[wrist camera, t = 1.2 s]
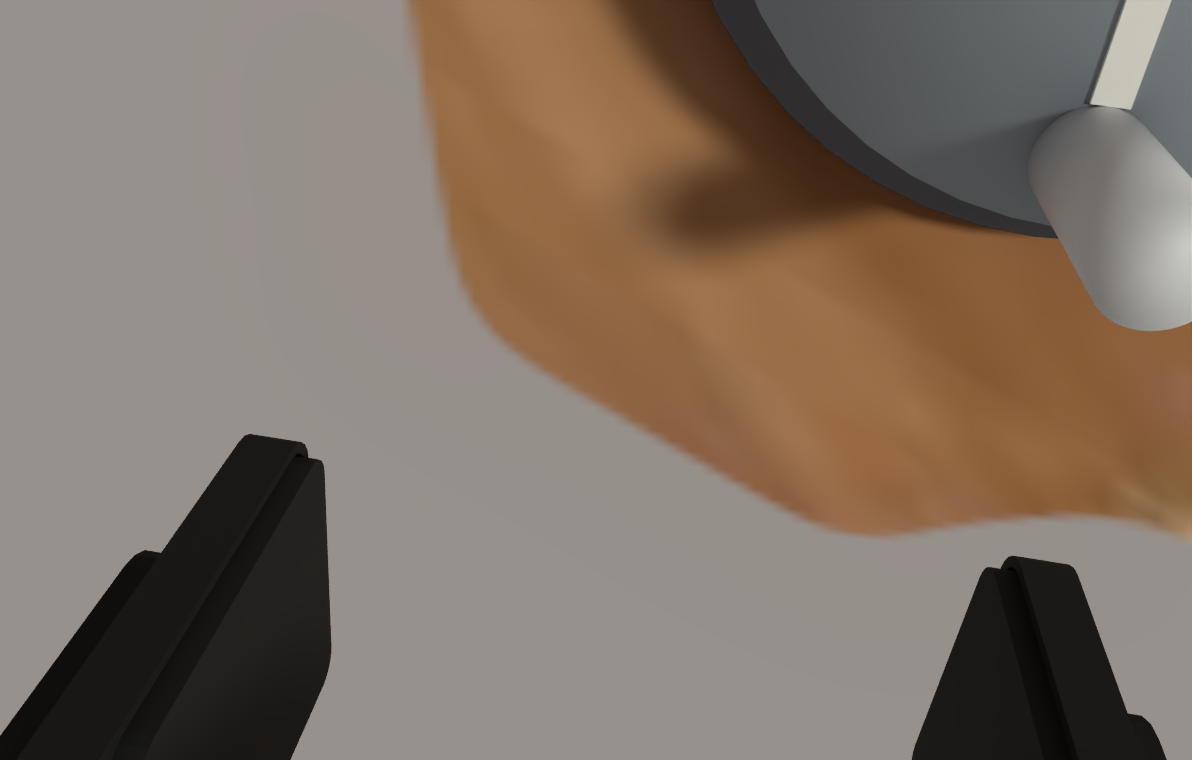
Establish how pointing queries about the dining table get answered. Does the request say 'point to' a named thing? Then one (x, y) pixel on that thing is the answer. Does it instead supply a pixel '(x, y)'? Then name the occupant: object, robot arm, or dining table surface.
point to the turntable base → (808, 110)
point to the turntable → (1028, 121)
